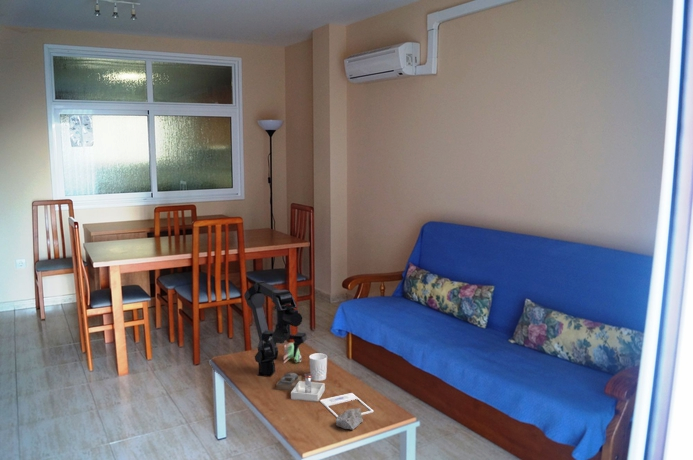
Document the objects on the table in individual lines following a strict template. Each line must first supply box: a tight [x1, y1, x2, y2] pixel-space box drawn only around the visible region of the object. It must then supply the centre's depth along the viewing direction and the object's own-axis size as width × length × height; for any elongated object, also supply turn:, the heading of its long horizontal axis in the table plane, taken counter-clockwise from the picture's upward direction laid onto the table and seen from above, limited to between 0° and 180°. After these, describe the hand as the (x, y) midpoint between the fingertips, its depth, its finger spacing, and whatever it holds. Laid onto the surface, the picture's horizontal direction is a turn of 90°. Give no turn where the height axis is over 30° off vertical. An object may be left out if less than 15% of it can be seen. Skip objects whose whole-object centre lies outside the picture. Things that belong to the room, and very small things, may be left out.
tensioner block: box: [275, 372, 303, 392], centre depth 240 cm, size 10×8×4 cm
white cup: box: [308, 352, 328, 382], centre depth 247 cm, size 8×8×10 cm
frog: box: [283, 342, 302, 364], centre depth 267 cm, size 12×10×9 cm
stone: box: [335, 407, 364, 431], centre depth 206 cm, size 8×10×6 cm
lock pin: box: [303, 372, 312, 393], centre depth 231 cm, size 3×3×8 cm
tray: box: [290, 380, 326, 403], centre depth 231 cm, size 11×11×3 cm
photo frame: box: [319, 392, 374, 418], centre depth 221 cm, size 15×1×18 cm
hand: (284, 356), depth 239 cm, fingers open, 9 cm apart
